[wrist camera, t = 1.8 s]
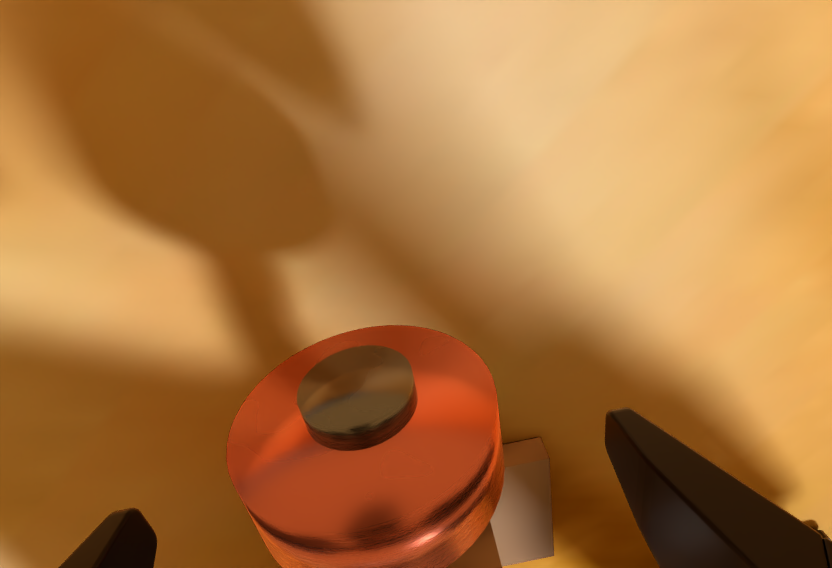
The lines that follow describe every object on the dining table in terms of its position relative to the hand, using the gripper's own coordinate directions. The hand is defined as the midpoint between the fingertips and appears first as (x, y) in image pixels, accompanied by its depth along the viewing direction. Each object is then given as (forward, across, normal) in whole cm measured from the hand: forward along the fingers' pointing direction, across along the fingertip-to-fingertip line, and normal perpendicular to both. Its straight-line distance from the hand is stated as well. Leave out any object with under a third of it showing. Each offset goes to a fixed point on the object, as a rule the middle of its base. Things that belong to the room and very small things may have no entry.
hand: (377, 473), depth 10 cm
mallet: (+3, 0, +7) cm, 7 cm away
